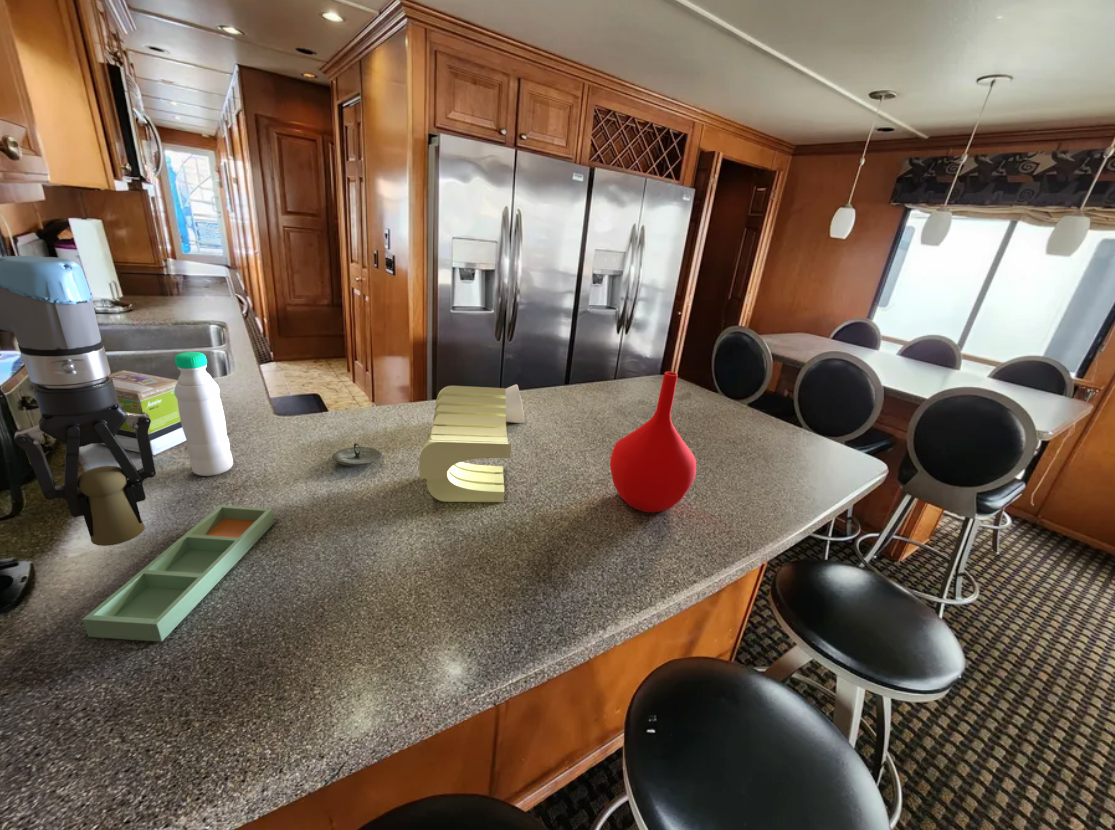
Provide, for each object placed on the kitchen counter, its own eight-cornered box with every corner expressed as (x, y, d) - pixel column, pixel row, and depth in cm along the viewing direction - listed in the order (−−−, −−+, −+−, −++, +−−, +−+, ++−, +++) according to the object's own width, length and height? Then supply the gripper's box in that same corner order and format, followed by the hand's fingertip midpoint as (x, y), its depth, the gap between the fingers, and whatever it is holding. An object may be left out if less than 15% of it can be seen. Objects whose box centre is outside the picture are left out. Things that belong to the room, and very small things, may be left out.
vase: (595, 509, 97) (616, 375, 86) (615, 472, 113) (635, 355, 102) (682, 534, 92) (716, 396, 81) (690, 491, 108) (719, 371, 97)
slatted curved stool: (436, 452, 113) (436, 384, 106) (501, 454, 116) (505, 388, 109) (420, 526, 86) (419, 441, 79) (505, 526, 88) (511, 444, 82)
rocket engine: (453, 389, 128) (516, 378, 130) (458, 402, 139) (516, 392, 141) (460, 428, 125) (524, 416, 127) (464, 438, 136) (524, 427, 138)
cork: (148, 535, 70) (131, 473, 66) (93, 551, 66) (72, 485, 62) (141, 516, 74) (125, 456, 70) (88, 531, 70) (68, 467, 66)
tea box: (93, 445, 100) (73, 381, 95) (139, 427, 109) (123, 368, 104) (153, 456, 98) (136, 392, 93) (194, 438, 108) (182, 378, 102)
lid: (332, 479, 100) (331, 463, 97) (332, 449, 107) (331, 433, 104) (384, 475, 105) (384, 459, 102) (380, 447, 112) (380, 431, 109)
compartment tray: (88, 637, 58) (81, 619, 57) (223, 518, 82) (220, 504, 81) (161, 641, 59) (156, 624, 58) (274, 522, 83) (272, 508, 81)
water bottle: (240, 468, 98) (219, 355, 88) (202, 481, 92) (175, 361, 83) (224, 457, 101) (202, 347, 92) (186, 469, 95) (158, 352, 86)
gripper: (-33, 400, 52) (30, 562, 61) (162, 379, 64) (192, 517, 73) (-28, 380, 57) (31, 533, 66) (153, 364, 69) (182, 496, 78)
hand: (115, 524), depth 70 cm, fingers closed on cork, 4 cm apart
